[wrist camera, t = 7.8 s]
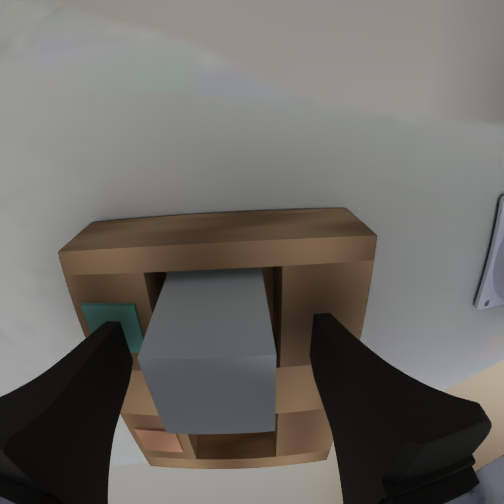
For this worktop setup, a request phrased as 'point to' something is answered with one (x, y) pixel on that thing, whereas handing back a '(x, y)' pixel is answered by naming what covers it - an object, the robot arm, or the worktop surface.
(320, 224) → the port block
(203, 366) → the matte gray box
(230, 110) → the worktop surface
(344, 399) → the robot arm
